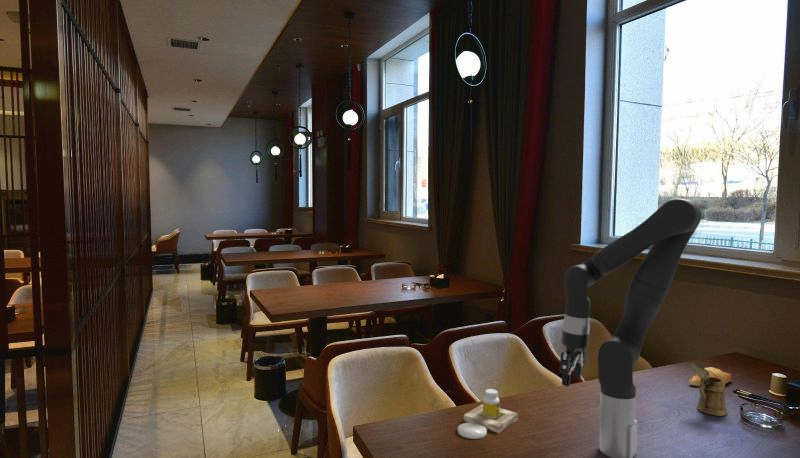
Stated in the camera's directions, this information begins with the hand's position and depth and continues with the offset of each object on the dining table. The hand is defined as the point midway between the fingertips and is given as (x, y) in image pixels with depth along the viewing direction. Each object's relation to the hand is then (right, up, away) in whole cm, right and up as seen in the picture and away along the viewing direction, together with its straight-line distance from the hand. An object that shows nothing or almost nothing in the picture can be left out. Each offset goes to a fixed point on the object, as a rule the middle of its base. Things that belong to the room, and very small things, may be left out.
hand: (571, 381), depth 147 cm
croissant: (+73, -16, +48) cm, 88 cm away
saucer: (-30, -17, +4) cm, 34 cm away
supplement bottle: (-22, -17, +13) cm, 31 cm away
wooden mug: (+54, -17, +20) cm, 60 cm away
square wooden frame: (-22, -17, +13) cm, 31 cm away
